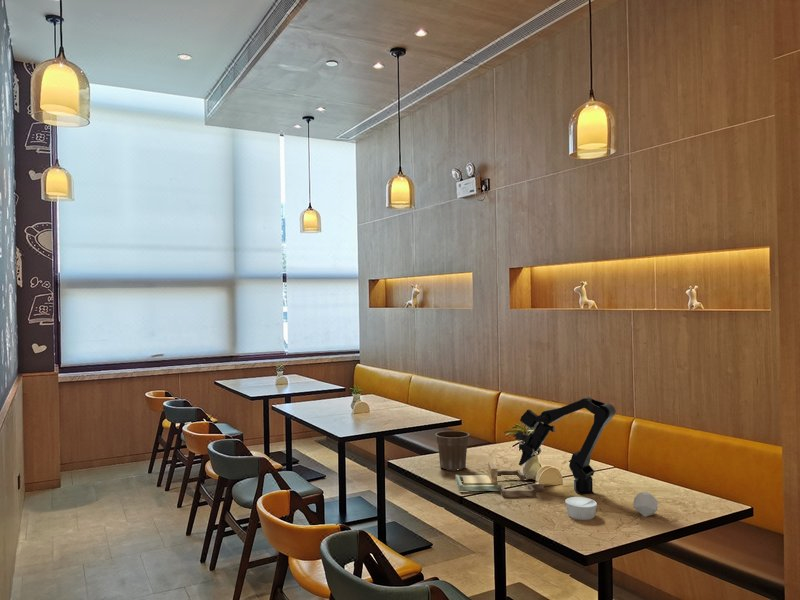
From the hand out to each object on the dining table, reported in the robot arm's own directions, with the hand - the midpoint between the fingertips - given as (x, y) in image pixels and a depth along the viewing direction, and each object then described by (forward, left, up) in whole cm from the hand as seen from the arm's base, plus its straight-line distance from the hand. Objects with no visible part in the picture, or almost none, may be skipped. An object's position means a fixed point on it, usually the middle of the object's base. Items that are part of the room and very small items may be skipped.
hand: (519, 465), depth 260 cm
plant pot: (+26, -27, -8) cm, 38 cm away
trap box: (+10, +3, -8) cm, 13 cm away
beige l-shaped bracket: (+18, +3, -8) cm, 20 cm away
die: (-38, +40, -8) cm, 56 cm away
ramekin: (-14, +40, -8) cm, 43 cm away
